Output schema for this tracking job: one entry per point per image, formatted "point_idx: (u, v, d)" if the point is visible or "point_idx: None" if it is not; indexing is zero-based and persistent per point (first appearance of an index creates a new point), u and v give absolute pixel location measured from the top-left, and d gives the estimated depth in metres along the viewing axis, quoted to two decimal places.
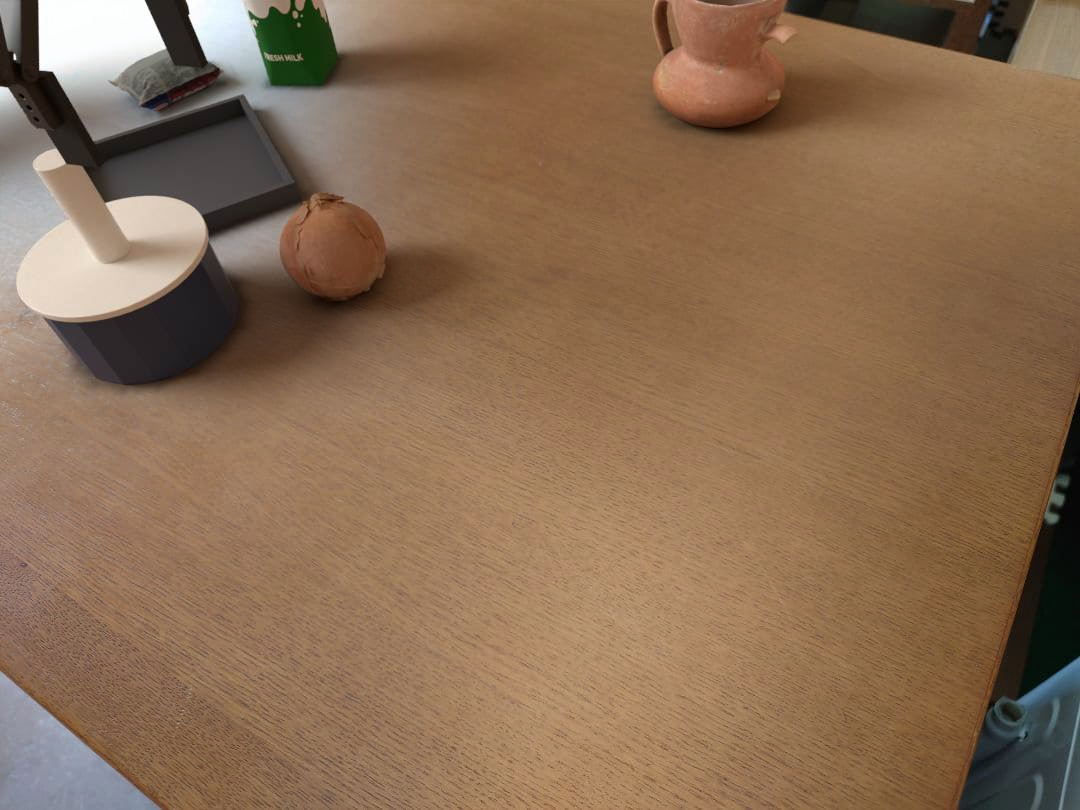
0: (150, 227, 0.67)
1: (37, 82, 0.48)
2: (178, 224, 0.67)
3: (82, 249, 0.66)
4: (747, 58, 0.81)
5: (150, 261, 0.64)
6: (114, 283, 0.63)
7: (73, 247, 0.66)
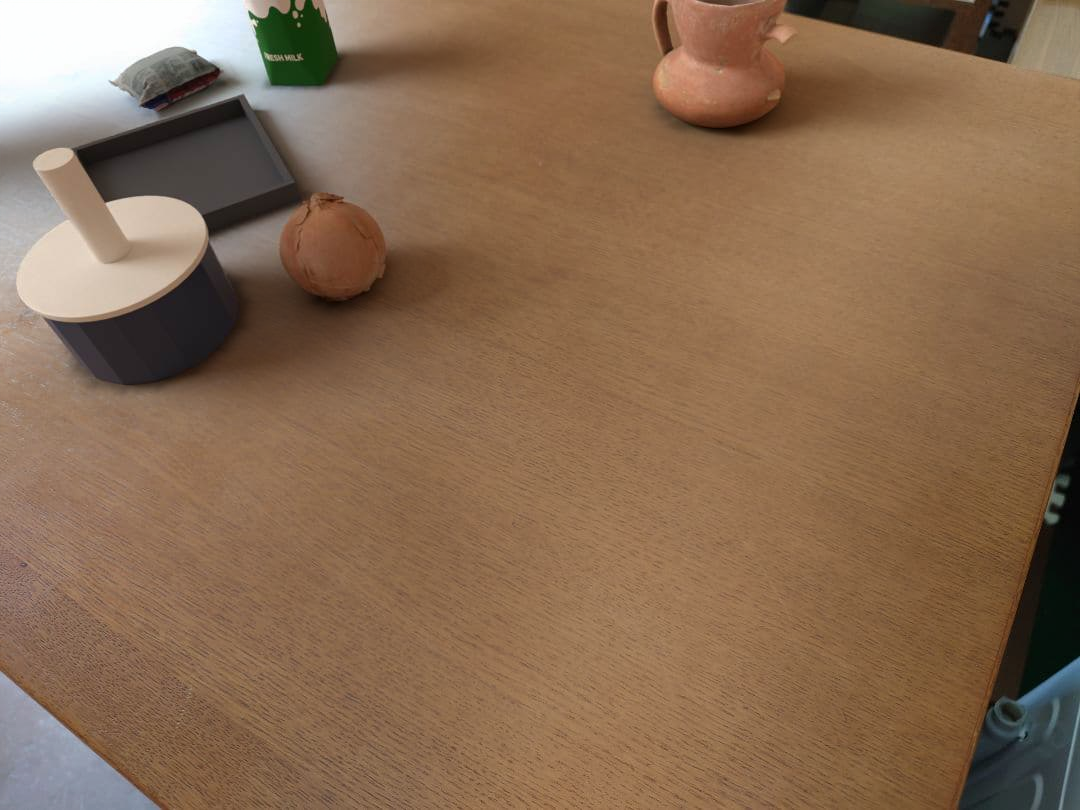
0: (150, 227, 0.67)
1: None
2: (178, 224, 0.67)
3: (82, 249, 0.66)
4: (747, 58, 0.81)
5: (150, 261, 0.64)
6: (114, 283, 0.63)
7: (73, 247, 0.66)
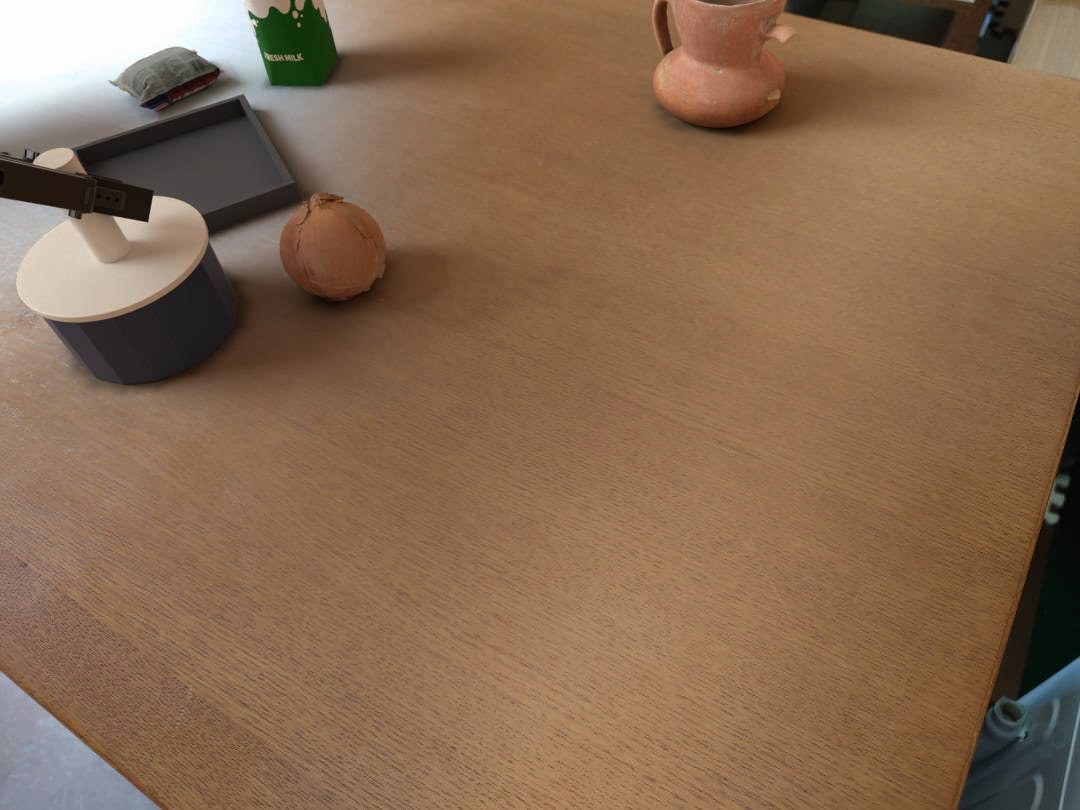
0: (150, 227, 0.67)
1: None
2: (178, 224, 0.67)
3: (82, 249, 0.66)
4: (747, 58, 0.81)
5: (150, 261, 0.64)
6: (114, 283, 0.63)
7: (73, 247, 0.66)
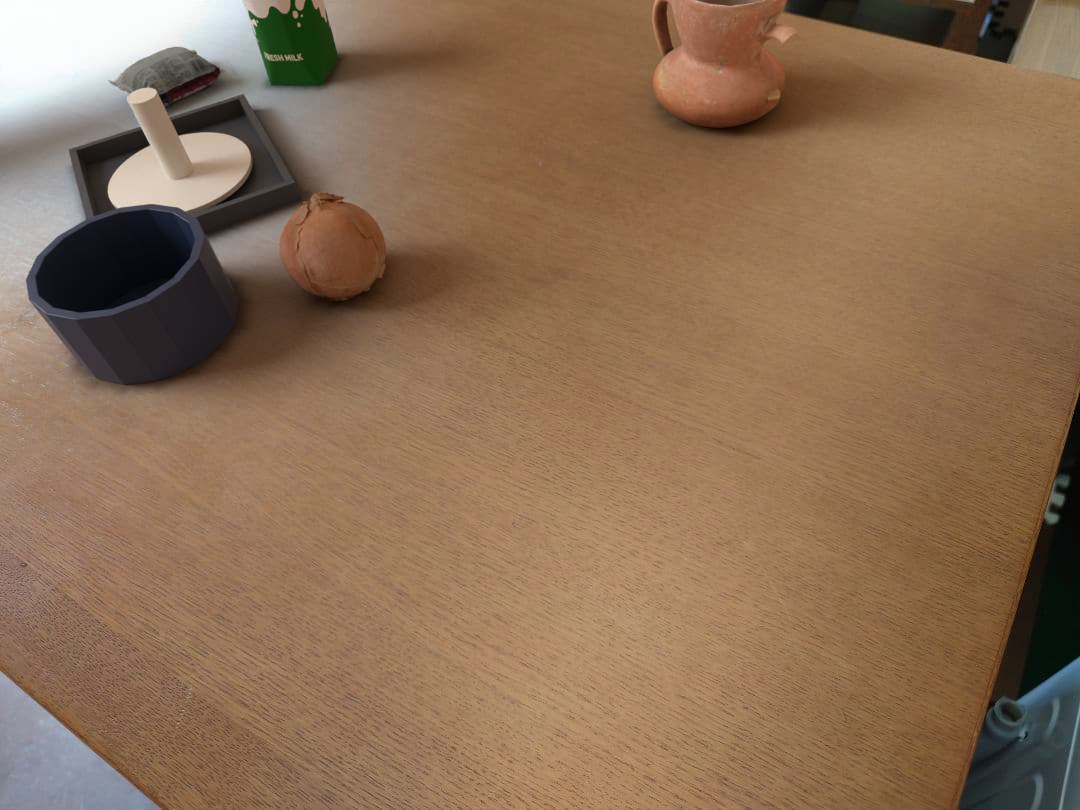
0: (207, 154, 0.87)
1: None
2: (229, 152, 0.87)
3: (156, 170, 0.86)
4: (747, 58, 0.81)
5: (209, 177, 0.84)
6: (183, 193, 0.83)
7: (149, 169, 0.86)
